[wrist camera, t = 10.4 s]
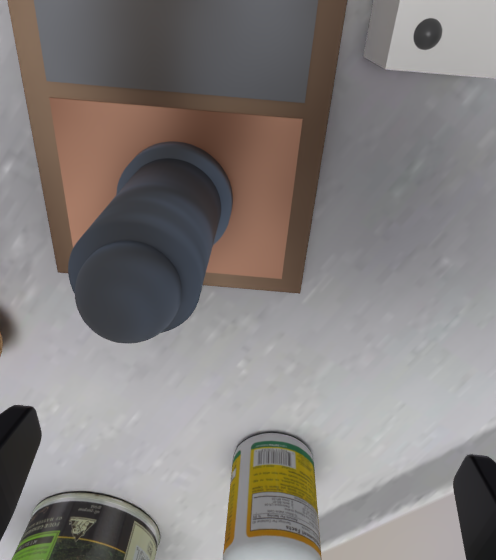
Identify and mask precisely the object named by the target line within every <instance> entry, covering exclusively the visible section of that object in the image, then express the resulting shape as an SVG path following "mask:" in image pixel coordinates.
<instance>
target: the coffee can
mask: <svg viewBox="0 0 496 560" xmlns="http://www.w3.org/2000/svg"><path fill="white" fill-rule="evenodd" d="M159 542H160V535H159V531H158V528H157V526H156V525H155V523H154V522H153V521H152V520H151V519H150V518H149V517H148V516H147V515H146V514H145V513H143V512H142V511H141V510H140V509H138V508H136V507H134V506H132V505H130V504H128V503H126V502H124V501H121V500H119V499H116V498H113V497H109V496H105V495H100V494H94V493H80V492H76V493H64V494H59V495H55V496H52V497H49V498H47V499H45V500H43V501H42V502H41V503H40V504H38V505H37V506H36V507H35V509H34V511H33V513H32V516H31V520H30V522H29V524H28V526H27V528H26V530H25V532H24V534H23V537H22V539H21V541H20V543H19V545H18V547H17V549H16V552H15V554H14V556H13V558H12V560H154V559H155V555H156V551H157V547H158V545H159Z"/></svg>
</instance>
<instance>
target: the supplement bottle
mask: <svg viewBox="0 0 496 560" xmlns="http://www.w3.org/2000/svg"><path fill="white" fill-rule="evenodd" d="M223 560H322V559H321V547H320V535H319V522H318V509H317V497H316V485H315V472H314V462H313V456H312V454H311V452H310V450H309V449H308V448H307V446H306V445H304V444H303V443H302V442H300V441H299V440H298V439H296V438H294V437H291V436H288V435H284V434H279V433H265V434H259V435H256V436H253V437H250V438H248V439H247V440H245V441H244V442H243V443H241V444H240V445H239V446H238V448H237V449H236V451H235V454H234V457H233V465H232V475H231V484H230V494H229V503H228V514H227V523H226V533H225V544H224V552H223Z"/></svg>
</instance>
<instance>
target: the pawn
mask: <svg viewBox="0 0 496 560" xmlns="http://www.w3.org/2000/svg"><path fill="white" fill-rule="evenodd" d="M232 205H233V193H232V187H231V184H230V181H229V179H228V176H227V174H226V173H225V171H224V169H223V168H222V166H221V165H220V164H219V163H218V162H217V161H216V160H215V159H214V158H213V157H212V156H211V155H210V154H208V153H207V152H206V151H204V150H202V149H201V148H199V147H196V146H194V145H191V144H188V143H183V142H174V141H169V142H161V143H158V144H154V145H152V146H150V147H148V148H146V149H144V150H143V151H141V152H140V153H139V154H138V155H137V156H136V157H135V158H134V159H133V160H132V161H131V162H130V163H129V164H128V166H127V167H126V168H125V170H124V171H123V173H122V174H121V177H120V179H119V182H118V186H117V193H116V196H115V197H114V199H113V200H112V201H111V202H110V203H109V205H108V206H107V207H106V208H105V209H104V210H103V212H102V213H101V214H100V215H99V216H98V218H97V219H96V220H95V221H94V222H93V223H92V225H91V226H90V227H89V228H88V229H87V231H86V232H85V233H84V234H83V235H82V237H81V238H80V239H79V240H78V241H77V243H76V244H75V246H74V247H73V249H72V252H71V254H70V258H69V263H68V274H69V280H70V284H71V286H72V289H73V291H74V293H75V300H76V305H77V308H78V311H79V313H80V315H81V317H82V319H83V320H84V322H85V323H86V324H87V325H88V326H89V327H90V328H91V329H92V330H93V331H94V332H95V333H97V334H98V335H100V336H101V337H103V338H105V339H108V340H110V341H114V342H118V343H137V342H142V341H145V340H148V339H150V338H153V337H154V336H156V335H158V334H159V333H162V332H165V331H169V330H171V329H173V328H175V327H177V326H179V325H180V324H182V323H183V322H184V321H185V320H187V319H188V318H189V316H190V315H191V314H192V313H193V311H194V310H195V308H196V306H197V303H198V300H199V296H200V293H201V289H202V285H203V281H204V277H205V274H206V270H207V266H208V262H209V258H210V255H211V251H212V247H213V245H214V244H215V243H216V242H217V241H218V240H219V239H220V238H221V237H222V235H223V234H224V232H225V231H226V228H227V226H228V223H229V220H230V215H231V211H232Z"/></svg>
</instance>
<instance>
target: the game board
mask: <svg viewBox="0 0 496 560" xmlns="http://www.w3.org/2000/svg"><path fill="white" fill-rule="evenodd" d="M346 5H347V0H8V6H9V11H10V16H11V22H12V27H13V33H14V38H15V43H16V49H17V54H18V60H19V65H20V70H21V76H22V81H23V86H24V92H25V97H26V103H27V108H28V113H29V119H30V124H31V130H32V135H33V140H34V146H35V151H36V157H37V162H38V167H39V173H40V178H41V183H42V189H43V194H44V200H45V205H46V210H47V216H48V221H49V227H50V232H51V237H52V243H53V248H54V254H55V259H56V264H57V270H58V272H60V273H68V263H69V258H70V254H71V252H72V249H73V247H74V246H75V244H76V243H77V241H78V240H79V239H80V238H81V237H82V235H83V234H84V233H85V232H86V231H87V229H88V228H89V227H90V226H91V225H92V223H93V222H94V221H95V220H96V219H97V218H98V216H99V215H100V214H101V213H102V212H103V210H104V209H105V208H106V207H107V206H108V205H109V203H110V202H111V201H112V200H113V199H114V197H115V196H116V193H117V186H118V182H119V179H120V177H121V174H122V173H123V171H124V170H125V168H126V167H127V166H128V164H129V163H130V162H131V161H132V160H133V159H134V158H135V157H136V156H137V155H138V154H139V153H140V152H141V151H143V150H144V149H146V148H148V147H150V146H152V145H154V144H158V143H161V142H169V141H174V142H183V143H188V144H191V145H194V146H196V147H199V148H201V149H202V150H204V151H206V152H207V153H208V154H210V155H211V156H212V157H213V158H214V159H215V160H216V161H217V162H218V163H219V164H220V165H221V166H222V168H223V169H224V171H225V173H226V174H227V176H228V179H229V181H230V184H231V187H232V193H233V205H232V211H231V215H230V220H229V223H228V226H227V228H226V231H225V232H224V234H223V235H222V237H221V238H220V239H219V240H218V241H217V242H216V243H215V244H214V245H213V247H212V251H211V255H210V258H209V262H208V266H207V270H206V274H205V277H204V281H203V285H209V286H221V287H232V288H244V289H255V290H266V291H278V292H289V293H300V291H301V284H302V278H303V272H304V266H305V260H306V253H307V247H308V241H309V235H310V229H311V222H312V216H313V210H314V204H315V197H316V191H317V185H318V179H319V173H320V166H321V160H322V154H323V148H324V142H325V135H326V129H327V123H328V117H329V110H330V104H331V98H332V92H333V86H334V79H335V73H336V67H337V61H338V55H339V48H340V42H341V36H342V30H343V23H344V17H345V11H346Z"/></svg>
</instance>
